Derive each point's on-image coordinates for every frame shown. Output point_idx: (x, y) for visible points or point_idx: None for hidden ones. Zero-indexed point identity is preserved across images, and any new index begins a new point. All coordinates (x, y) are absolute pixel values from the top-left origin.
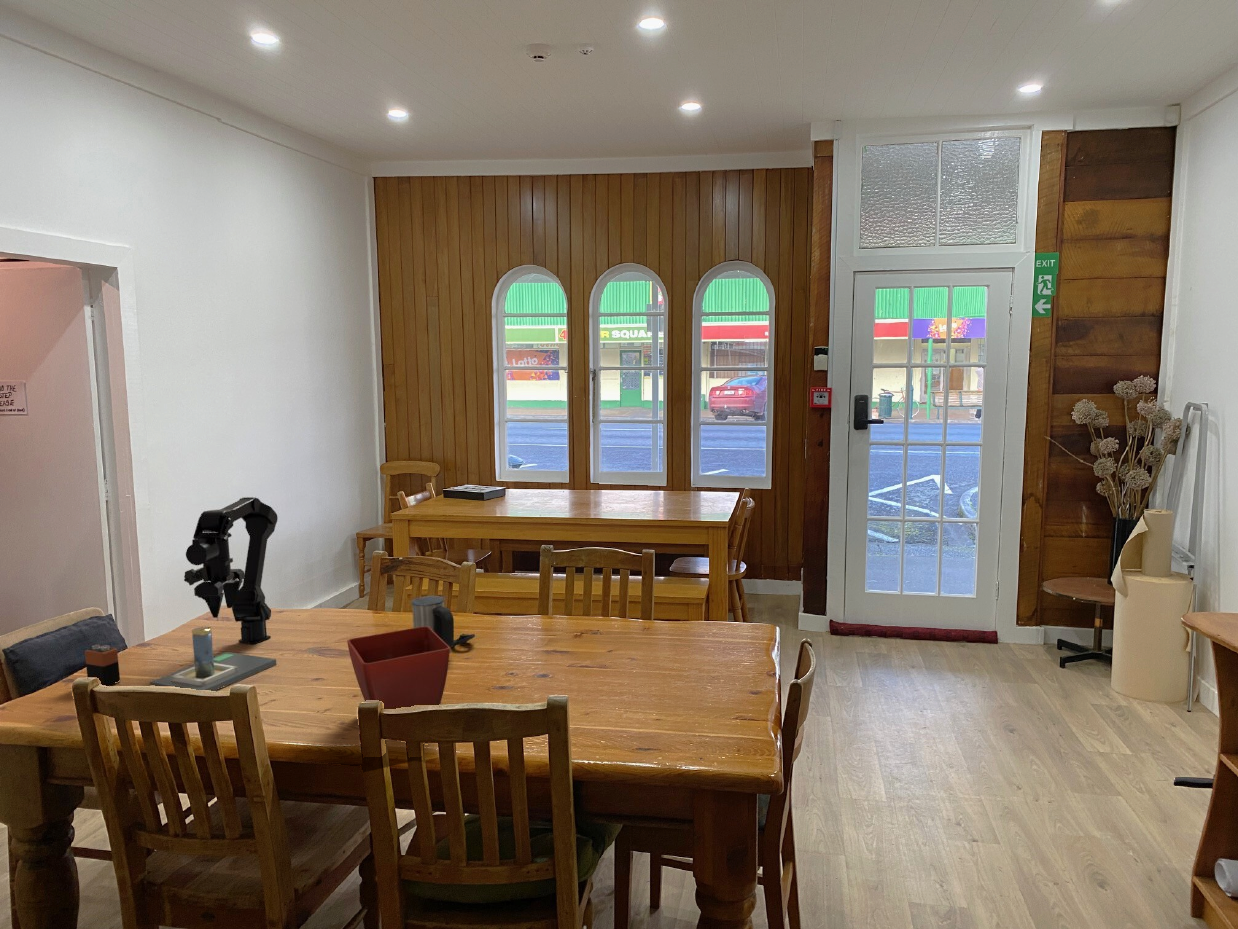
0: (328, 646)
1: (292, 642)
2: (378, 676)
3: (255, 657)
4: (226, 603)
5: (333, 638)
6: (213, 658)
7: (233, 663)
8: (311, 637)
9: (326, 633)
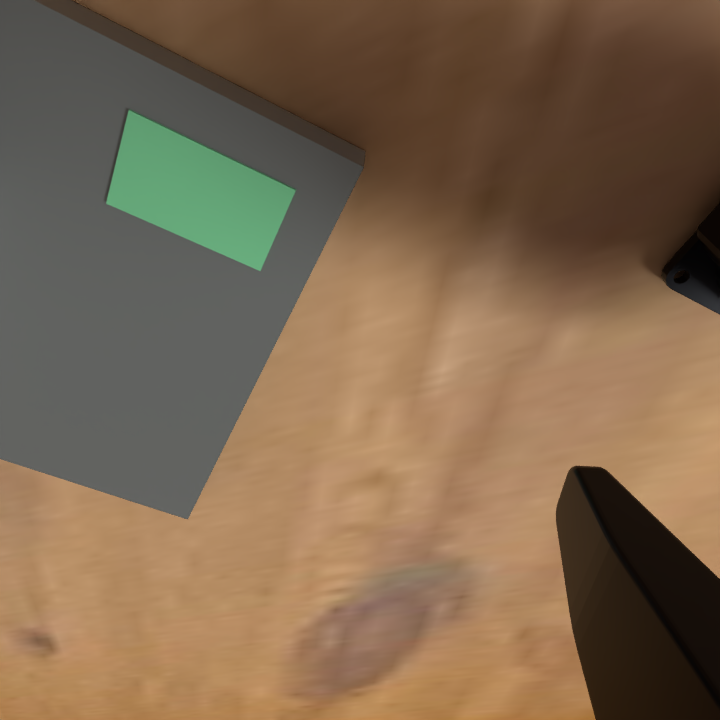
0: (465, 617)
1: None
2: None
3: (211, 421)
4: (608, 539)
5: None
6: (175, 116)
7: (77, 327)
8: None
9: None
